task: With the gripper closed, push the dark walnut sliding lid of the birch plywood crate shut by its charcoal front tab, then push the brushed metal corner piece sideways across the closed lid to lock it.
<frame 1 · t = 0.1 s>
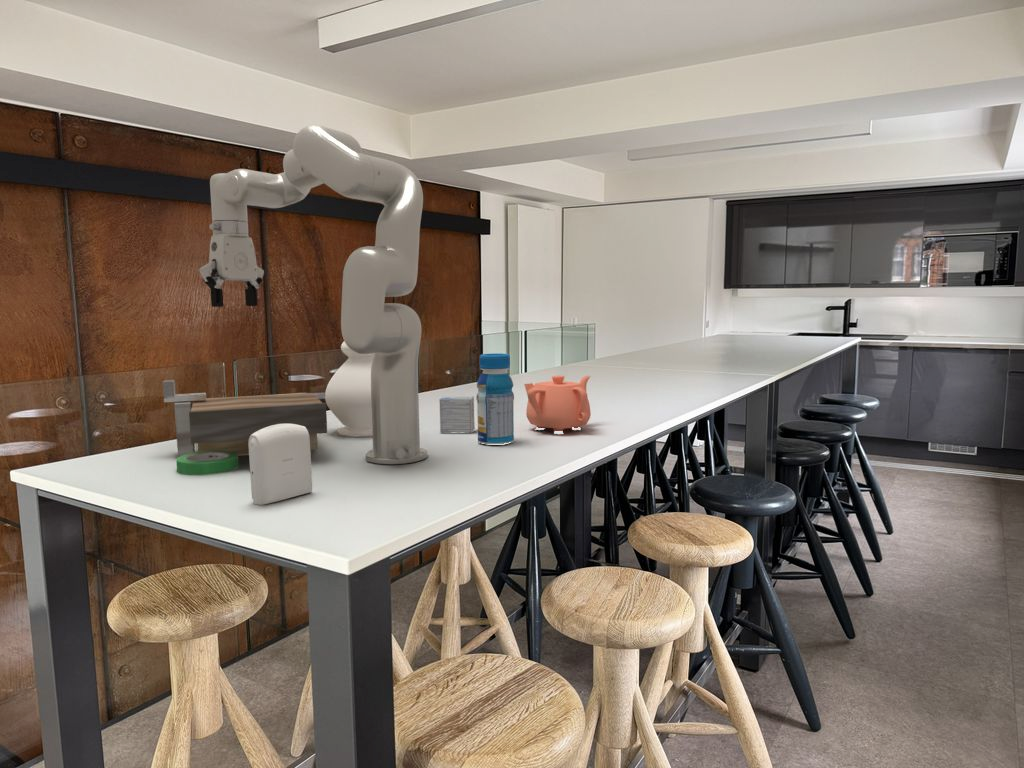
hand: (235, 306, 165), 31 cm above the table, tool pointing down, fingers open, 9 cm apart
lid: (258, 414, 149), point 9 cm above the table, slide at 12.0 cm
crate: (257, 445, 162), on the table
medicine box: (457, 432, 175), on the table
brushed metal corner piece: (184, 390, 152), point 14 cm above the table, slide at 0.0 cm
photo printer: (282, 498, 120), on the table
tape roll: (208, 470, 141), on the table
decorative vase: (364, 432, 177), on the table
teapot: (558, 430, 178), on the table
beverage bottle: (495, 443, 162), on the table
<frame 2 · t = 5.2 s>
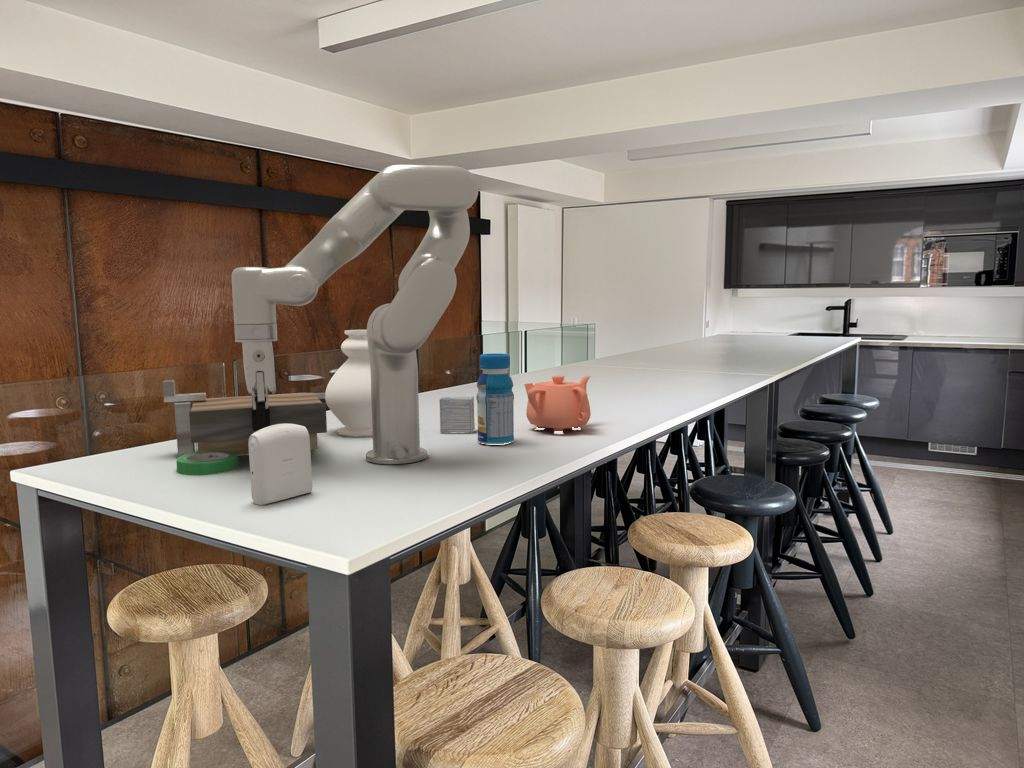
hand: (261, 429, 137), 8 cm above the table, tool pointing down, fingers closed
lid: (257, 413, 150), point 9 cm above the table, slide at 11.5 cm, touching gripper
everything else where it was.
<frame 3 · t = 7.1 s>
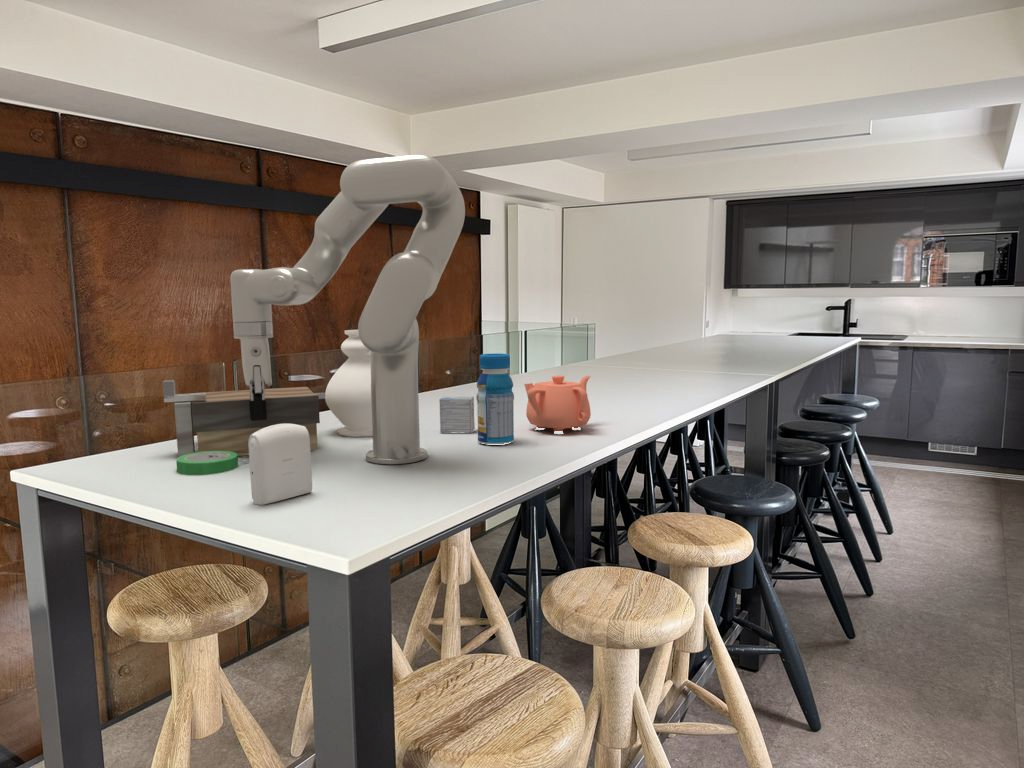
hand: (258, 419, 148), 8 cm above the table, tool pointing down, fingers closed
lid: (255, 405, 161), point 9 cm above the table, slide at -0.3 cm, touching gripper
everything else where it was.
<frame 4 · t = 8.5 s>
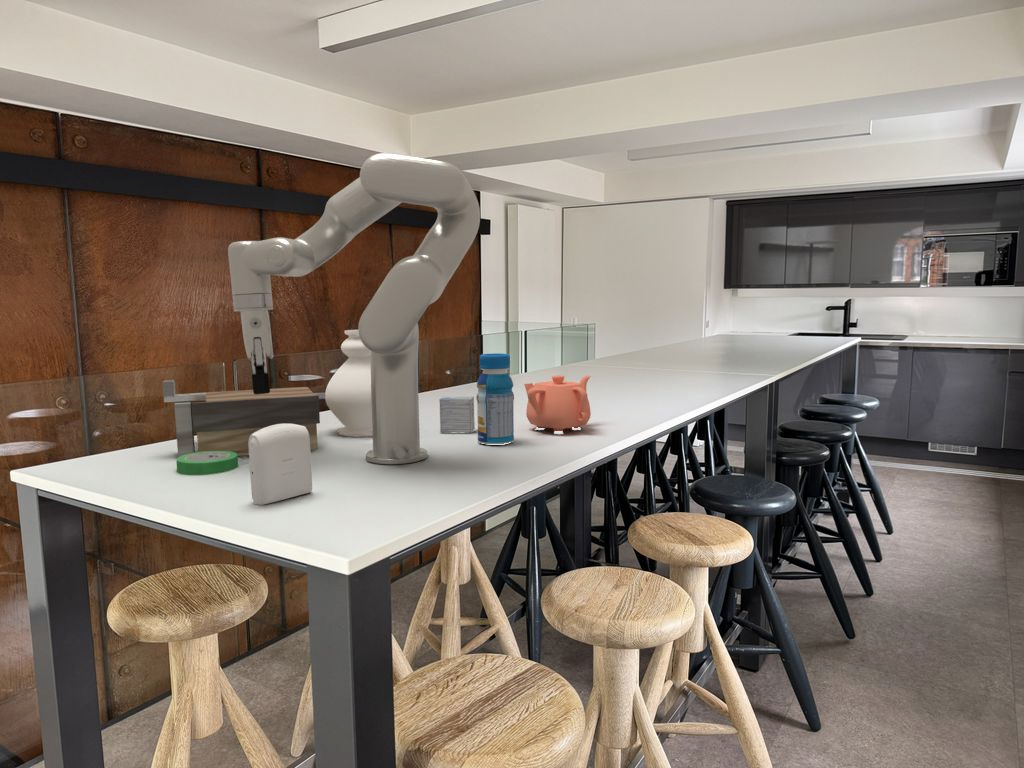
hand: (261, 393, 147), 14 cm above the table, tool pointing down, fingers closed
lid: (255, 406, 161), point 9 cm above the table, slide at 0.0 cm
everything else where it was.
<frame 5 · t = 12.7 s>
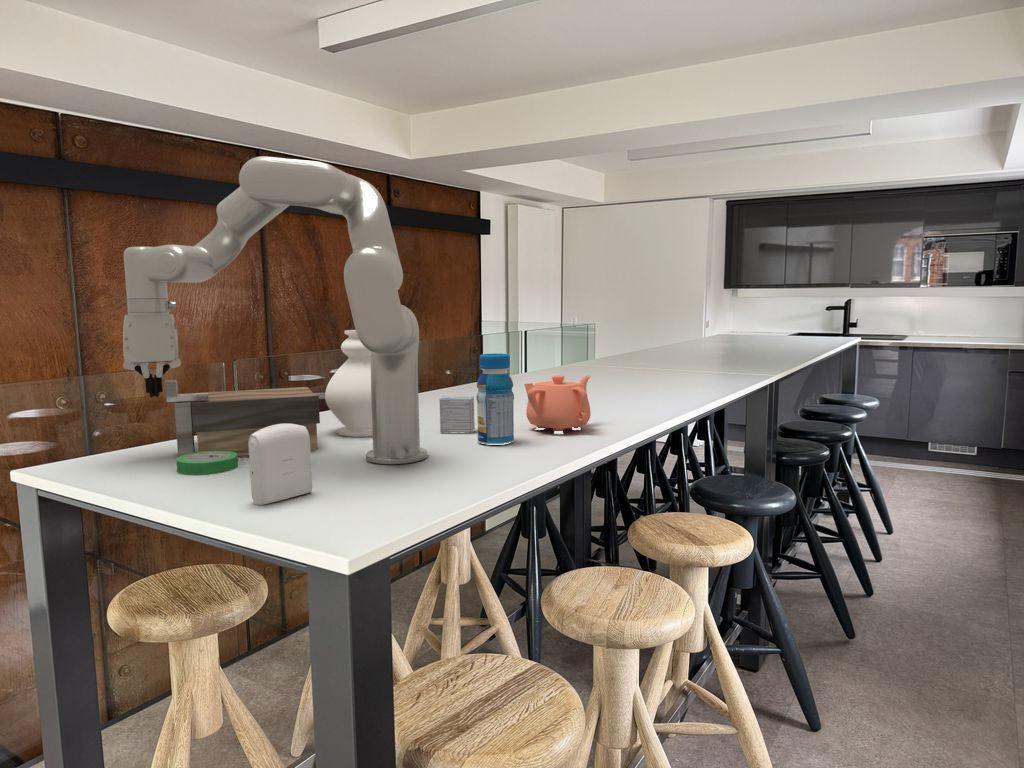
hand: (154, 396, 150), 13 cm above the table, tool pointing down, fingers closed
brushed metal corner piece: (187, 390, 152), point 14 cm above the table, slide at 0.5 cm, touching gripper
everything else where it was.
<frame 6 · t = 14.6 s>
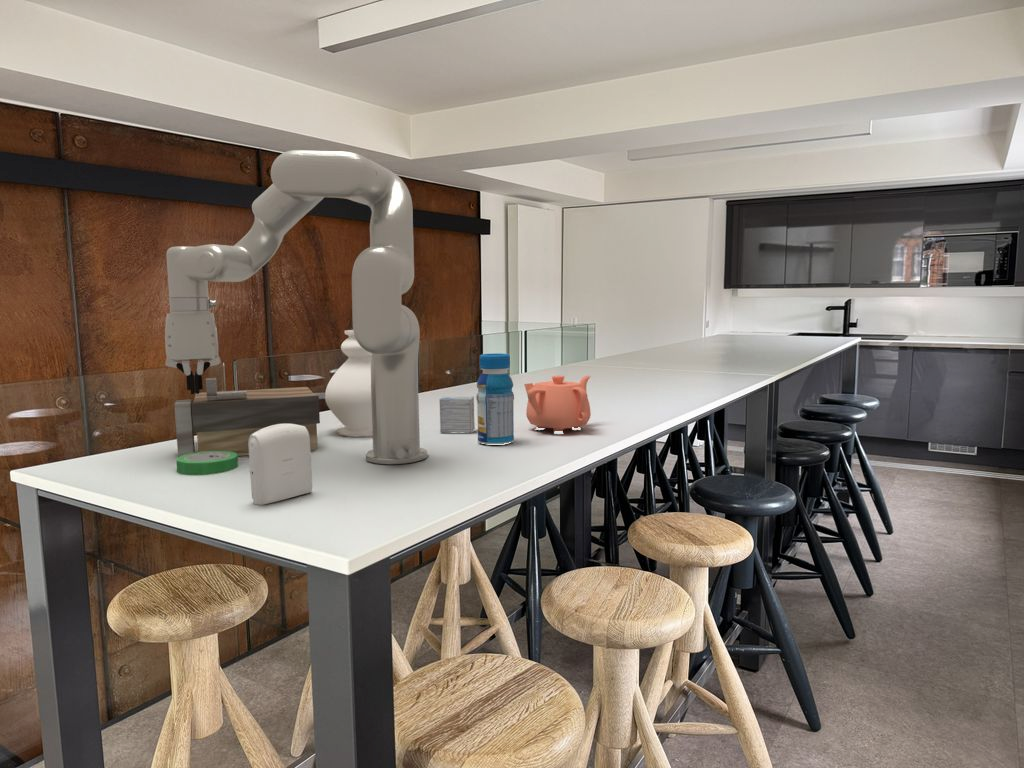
hand: (195, 393, 152), 13 cm above the table, tool pointing down, fingers closed
brushed metal corner piece: (226, 387, 155), point 14 cm above the table, slide at 8.2 cm, touching gripper
everything else where it was.
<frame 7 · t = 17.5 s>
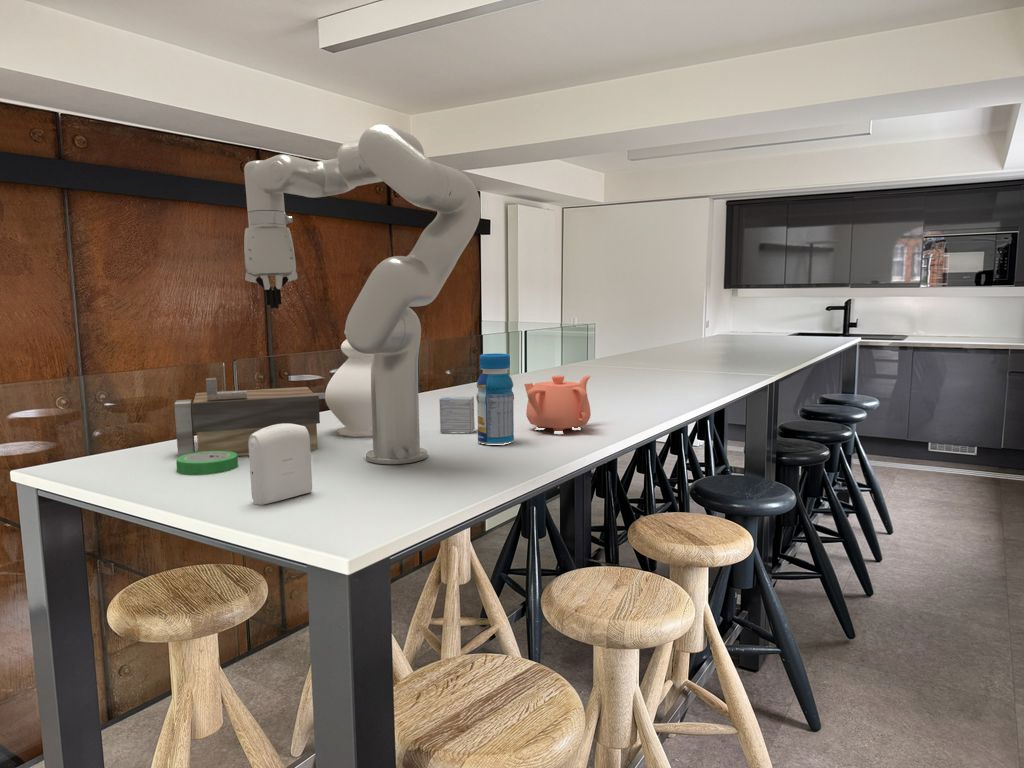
hand: (274, 308, 154), 31 cm above the table, tool pointing down, fingers closed
brushed metal corner piece: (226, 387, 155), point 14 cm above the table, slide at 8.2 cm
everything else where it was.
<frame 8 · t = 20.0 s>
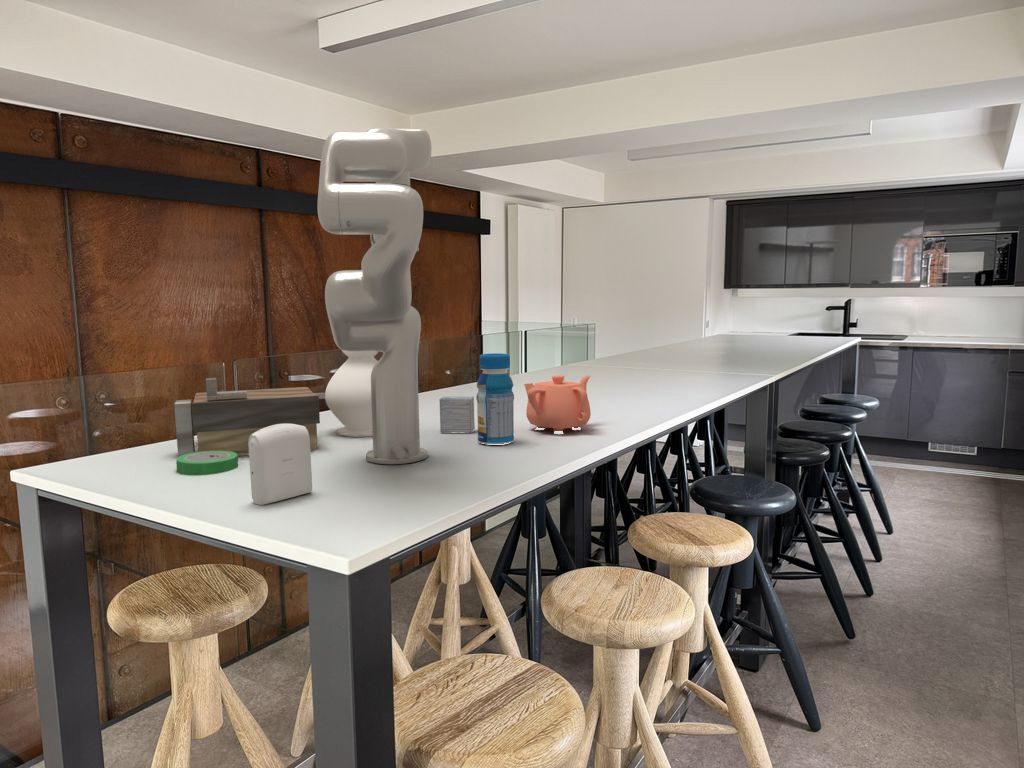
hand: (396, 278, 161), 37 cm above the table, tool pointing down, fingers closed
nothing on the table moved.
at the end: lid slide at 0.0 cm; brushed metal corner piece slide at 8.2 cm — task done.
